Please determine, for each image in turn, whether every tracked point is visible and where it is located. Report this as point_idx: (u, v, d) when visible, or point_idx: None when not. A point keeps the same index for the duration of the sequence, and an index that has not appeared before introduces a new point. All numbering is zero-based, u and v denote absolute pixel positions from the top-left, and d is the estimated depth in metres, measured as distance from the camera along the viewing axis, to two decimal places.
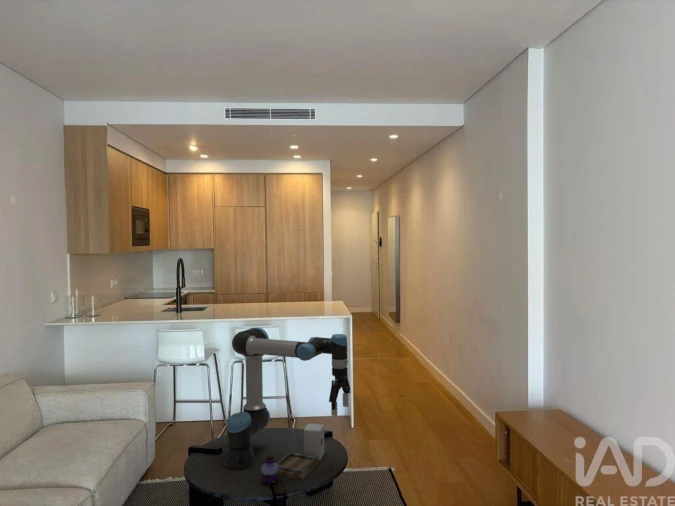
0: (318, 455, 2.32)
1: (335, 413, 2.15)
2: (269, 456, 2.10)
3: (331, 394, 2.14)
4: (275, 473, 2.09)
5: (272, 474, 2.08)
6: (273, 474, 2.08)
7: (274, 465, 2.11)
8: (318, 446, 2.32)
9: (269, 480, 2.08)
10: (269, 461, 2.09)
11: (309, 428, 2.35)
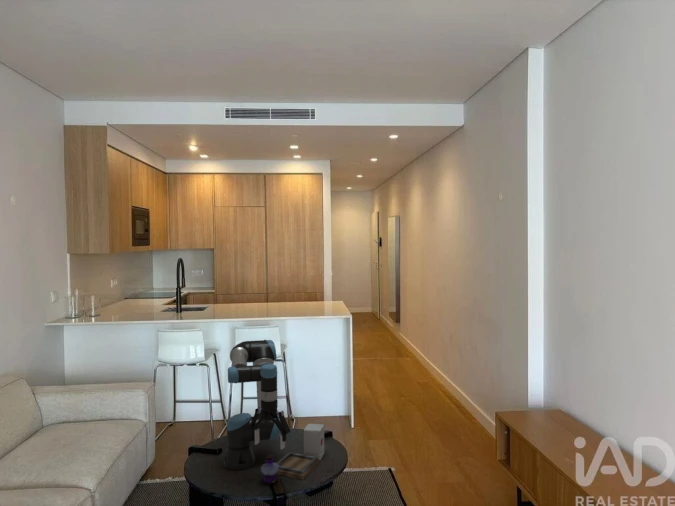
0: (318, 455, 2.32)
1: None
2: (269, 456, 2.10)
3: None
4: (275, 473, 2.09)
5: (272, 474, 2.08)
6: (273, 474, 2.08)
7: (274, 465, 2.11)
8: (318, 446, 2.32)
9: (269, 480, 2.08)
10: (269, 461, 2.09)
11: (309, 428, 2.35)
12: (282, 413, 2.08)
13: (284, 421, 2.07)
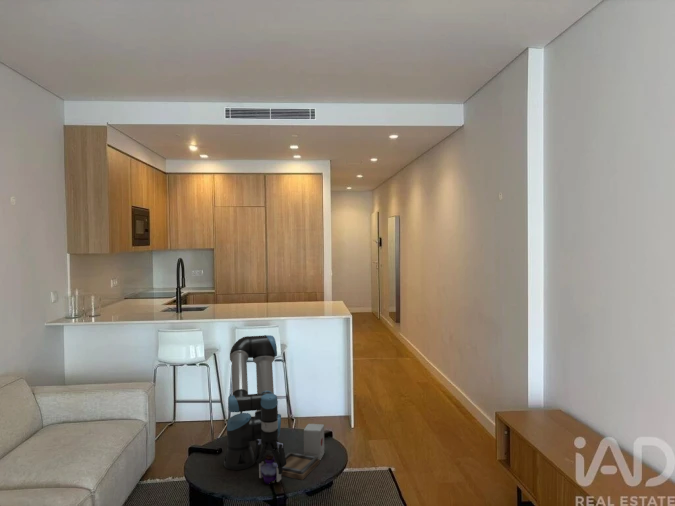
0: (318, 455, 2.32)
1: None
2: (269, 456, 2.10)
3: None
4: (275, 473, 2.09)
5: (272, 474, 2.08)
6: (273, 474, 2.08)
7: (274, 465, 2.11)
8: (318, 446, 2.32)
9: (269, 480, 2.08)
10: (269, 461, 2.09)
11: (309, 428, 2.35)
12: (282, 445, 2.08)
13: (282, 454, 2.08)
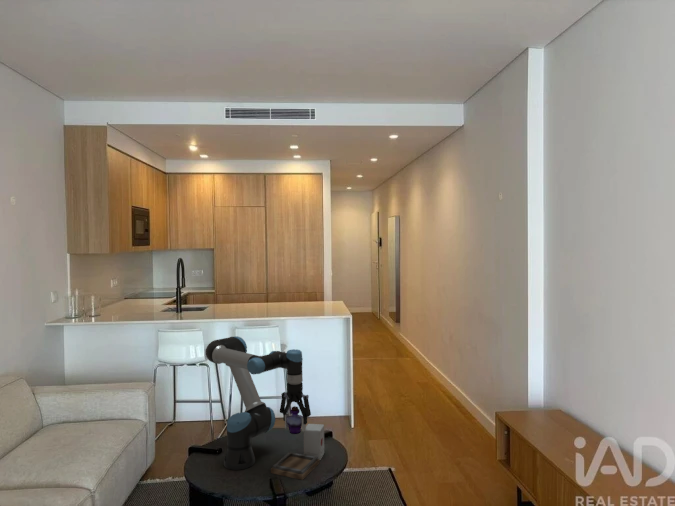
0: (318, 455, 2.32)
1: None
2: (294, 408, 2.23)
3: None
4: (300, 423, 2.21)
5: (297, 424, 2.20)
6: (298, 424, 2.21)
7: (299, 416, 2.23)
8: (318, 446, 2.32)
9: (294, 430, 2.21)
10: (294, 412, 2.22)
11: (309, 428, 2.35)
12: (307, 397, 2.21)
13: (307, 405, 2.21)
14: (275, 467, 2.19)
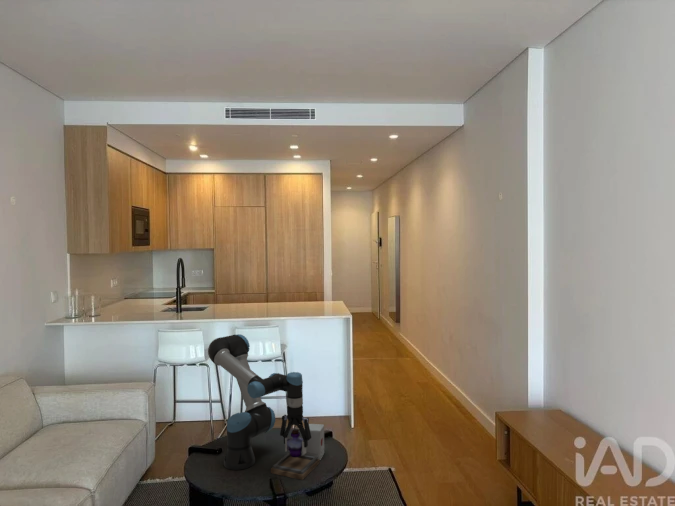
0: (318, 455, 2.32)
1: None
2: (295, 431, 2.23)
3: None
4: (301, 446, 2.21)
5: (298, 447, 2.20)
6: (299, 448, 2.21)
7: (299, 439, 2.23)
8: (318, 446, 2.32)
9: (295, 453, 2.21)
10: (295, 435, 2.22)
11: None
12: (307, 420, 2.21)
13: (308, 428, 2.21)
14: (275, 467, 2.19)
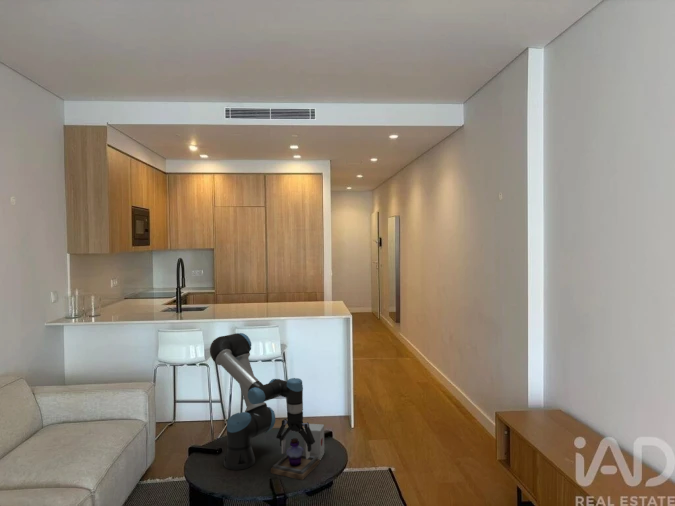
0: (318, 455, 2.32)
1: None
2: (294, 440, 2.23)
3: None
4: (300, 455, 2.21)
5: (297, 456, 2.20)
6: (298, 457, 2.21)
7: (299, 448, 2.23)
8: (318, 446, 2.32)
9: (295, 462, 2.21)
10: (294, 444, 2.22)
11: None
12: (307, 425, 2.21)
13: (309, 432, 2.20)
14: (275, 467, 2.19)
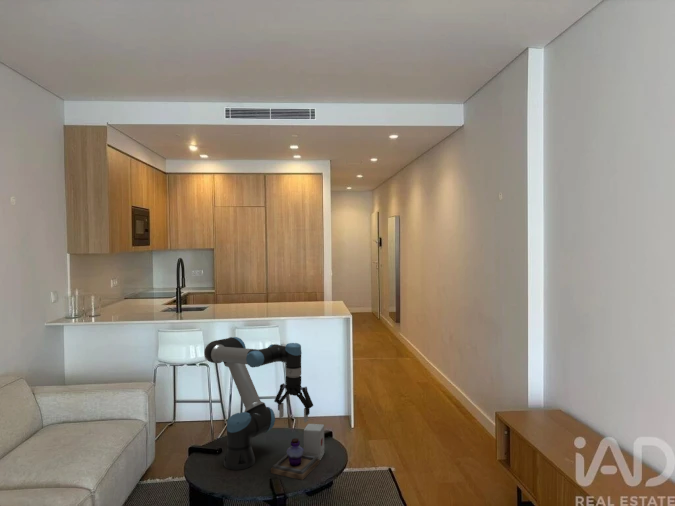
0: (318, 455, 2.32)
1: None
2: (294, 440, 2.23)
3: None
4: (300, 456, 2.21)
5: (297, 456, 2.21)
6: (298, 457, 2.21)
7: (299, 448, 2.24)
8: (318, 446, 2.32)
9: (295, 462, 2.21)
10: (295, 444, 2.22)
11: (309, 428, 2.35)
12: (306, 389, 2.22)
13: (308, 396, 2.21)
14: (275, 467, 2.19)
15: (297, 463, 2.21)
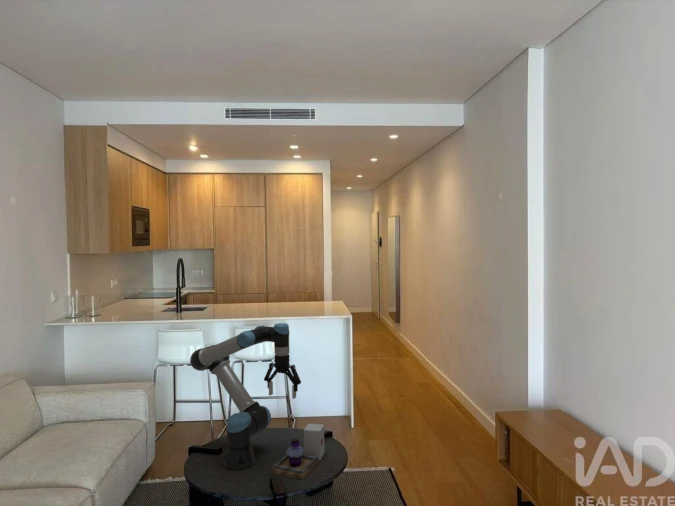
0: (318, 455, 2.32)
1: None
2: (294, 440, 2.23)
3: None
4: (300, 456, 2.21)
5: (297, 456, 2.21)
6: (298, 457, 2.21)
7: (299, 448, 2.24)
8: (318, 446, 2.32)
9: (295, 462, 2.21)
10: (295, 444, 2.22)
11: (309, 428, 2.35)
12: (294, 366, 2.31)
13: (295, 373, 2.30)
14: (275, 467, 2.19)
15: (297, 463, 2.21)
